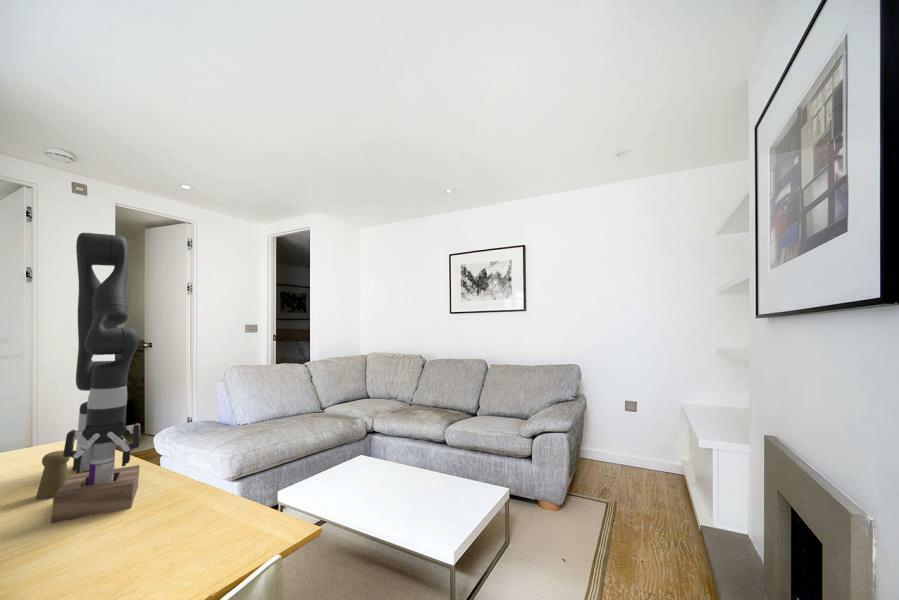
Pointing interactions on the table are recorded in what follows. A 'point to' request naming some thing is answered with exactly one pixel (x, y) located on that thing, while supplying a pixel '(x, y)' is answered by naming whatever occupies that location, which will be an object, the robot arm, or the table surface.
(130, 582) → the table surface
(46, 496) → the cork
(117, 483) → the well block
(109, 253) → the robot arm
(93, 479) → the container
